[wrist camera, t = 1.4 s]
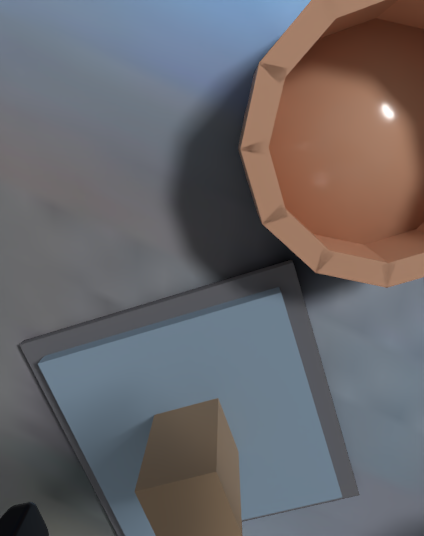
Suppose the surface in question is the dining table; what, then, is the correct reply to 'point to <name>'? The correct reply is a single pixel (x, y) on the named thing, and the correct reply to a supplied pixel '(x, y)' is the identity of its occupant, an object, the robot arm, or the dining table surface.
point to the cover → (197, 419)
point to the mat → (191, 302)
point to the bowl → (343, 139)
